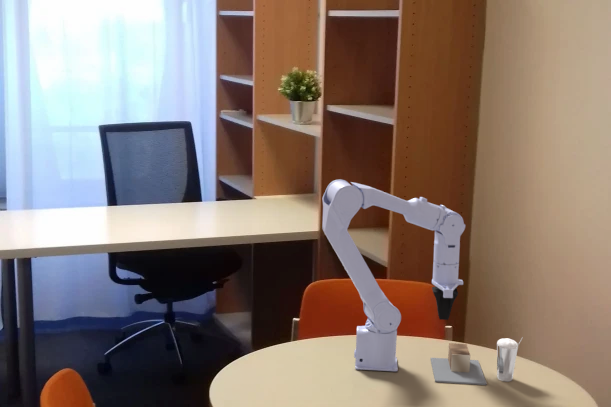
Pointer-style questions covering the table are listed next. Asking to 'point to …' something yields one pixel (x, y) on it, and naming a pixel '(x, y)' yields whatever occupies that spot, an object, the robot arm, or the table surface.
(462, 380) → the mat
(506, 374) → the milkshake
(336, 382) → the table surface
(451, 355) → the walnut block
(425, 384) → the table surface
